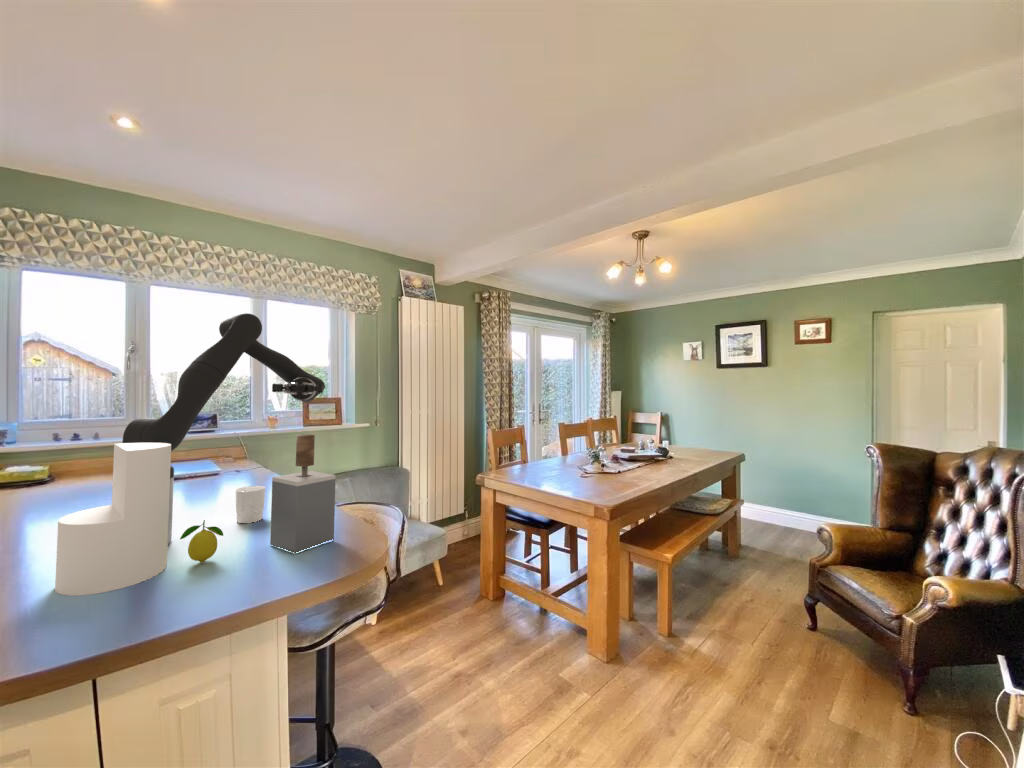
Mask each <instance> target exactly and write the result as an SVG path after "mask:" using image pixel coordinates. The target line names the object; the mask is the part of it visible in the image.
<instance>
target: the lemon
mask: <svg viewBox="0 0 1024 768" xmlns="http://www.w3.org/2000/svg"><path fill="white" fill-rule="evenodd" d="M205 522H206V521H205V519H203V522H202V524H201V525H192V526H190V527H188V528H187V529H185V531H184V532H183V533H182V535H181V536H180V537H179V540H183V539H185V538H187V537H188V536H190V535H191V534H192V533H194V532H196V531H197V530H199V528H201V526H202V529H201V531H199V532H197V533H196V534H195V535H194V536H192V538H191V539H190V541H189V544H188V548H187V553H188V557H189V559H191V560H192V561H196V562H200V563H201V564H204V563H205V562H206V561H207V560H208V559H210V558H212V557H213V556H214V555H215V553H216V552H217V549H218V539H217V536H216V535H219V536H222V537H223V536H224V532H223V530H222V529H221V528H220V527H218V526H205V525H206V524H205ZM205 528H206V529H205Z"/></svg>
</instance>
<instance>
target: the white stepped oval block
mask: <svg viewBox="0 0 1024 768" xmlns="http://www.w3.org/2000/svg"><path fill="white" fill-rule="evenodd" d="M171 461H172V451H171V444H169V443H122V442H121V443H113V461H112V463H113V466H112V486H111V487H112V489H111V490H112V492H111V504H110V505H109V504H108V505H102V506H97V507H92V508H87V509H83V510H79V511H75V512H72V513H69V514H65V515H64V516H62V517H60V518H59V519H58V521H57V540H56V541H57V542H56V557H55V558H56V561H55V563H56V564H55V581H54V582H55V586H54V587H55V588H54V591H55V592H56V593H57V594H59V595H63V596H72V597H73V596H75V597H76V596H77V597H78V596H88V595H95V594H102V593H107V592H112V591H116V590H120V589H124V588H128V587H130V586H134V585H137V584H139V583H142V581H143V582H145V581H148V580H150V579H152V578H154V577H156V576H158V575H159V573H160V572H161V573H163V572H164V571H165V570H166V569H167V567H166V566H168V565H167V564H168V563H167V562H168V545H169V544H168V518H169V491H170V465H171V463H172V462H171ZM171 466H172V465H171ZM164 569H165V570H164ZM163 570H164V571H163ZM161 573H160V574H161ZM153 576H154V577H153ZM147 579H148V580H147Z"/></svg>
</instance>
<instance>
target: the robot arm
mask: <svg viewBox="0 0 1024 768" xmlns="http://www.w3.org/2000/svg"><path fill="white" fill-rule="evenodd" d="M218 330H219V334H220V335H221V338H220V339H219V340H218V341H217V342H216V343H214V344H213V345H212V346H210V347H209V348H207V349H206V350H204V351H203V352H202V353H200V354H199V355H198V356H197V357H196V358H195V359H194V360H193V361H192V362H191V363H190V364H189V365H188V367H187V368H186V369H185V370H184V371H183V373H182V374H181V376H180V378H179V379H178V386H177V396H176V398H175V401H174V402H173V403H172V405H171V406H170V407H169V409H168V410H167V411H166V412H165V413H164V414H163V415H162V416H161V417H139V418H135V419H134V420H132V421H130V422H129V423H128V424H127V426H126V427H125V429H124V431H123V435H122V442H121V443H169V444H171V452H173V451H174V450H175V449H176V448H178V447H179V446H180V444H181V443H182V442H183V441H184V439H185V437H186V435H187V434H188V432H189V431H190V428H191V427H192V425H193V424H194V423H195V420H196V419H197V417H198V415H199V414H200V413H201V411H202V410H203V408H204V407H205V406H206V404H207V403H208V401H209V400H210V399H211V397H212V396H213V395H214V393H216V391H217V390H218V389H219V387H220V386H221V385H222V383H223V382H224V380H225V379H226V378H227V376H228V374H229V373H230V372H231V371H232V369H233V368H234V367H235V365H236V364H237V363H238V361H239V359H240V358H242V357H241V356H243V354H244V353H245V354H247V355H248V356H249V357H251V358H253V359H254V360H256V361H258V362H259V363H261V364H262V365H264V366H265V367H267V368H268V369H269V370H271V372H273V373H275V375H277V376H278V377H279V378H280V379H282V380H283V381H284V383H272V387H271V392H273V393H276V392H277V393H283V394H290V396H291V397H292V398H294V399H295V400H298V401H301V402H303V403H305V404H306V403H307V404H309V403H310V402H312V401H313V400H314V399H315V398H317V397H318V396H319V395H320V394H323V393H324V390H325V389H326V384H325V382H324V381H323V380H322V379H321V378H319V377H317V376H315V375H313V374H311V373H309V372H307V371H306V370H304V369H302V368H301V366H299V365H298V364H297V363H296V362H294V361H293V360H292V359H290V358H289V357H288V356H287V355H285V354H283V353H280V352H279V351H277V350H274V349H272V348H269V347H268V346H265V345H264V344H262V343H261V342H259V340H258V339H259V337H260V336H261V334H262V331H263V324H262V322H261V320H260V318H259V317H257V316H256V315H254V314H253V313H247V312H243V313H238V314H235V315H233V316H231V317H228V318H226V319H224V320H222V321H221V322H220V324H219V327H218ZM174 477H175V468H174V466H173V465H170V491H169V518H168V544H167V545H169V544H170V543H172V538H173V537H172V536H173V506H174V487H175V486H174V484H175V483H174V479H175V478H174Z"/></svg>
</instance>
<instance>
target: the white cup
mask: <svg viewBox="0 0 1024 768" xmlns="http://www.w3.org/2000/svg"><path fill="white" fill-rule="evenodd" d="M265 496H266V486H263V485H250V486H242V487H239V488H236V489H235V509H236V510H235V511H236V523H237V522H238V523H237V524H240V523H248V524H253V523H252V522H254V523H258V522H260V521H262V520H263V517H264V516H263V515H264V512H263V511H264V508H265V498H266V497H265ZM261 519H262V520H261ZM259 520H260V521H259ZM257 521H258V522H257Z"/></svg>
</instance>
